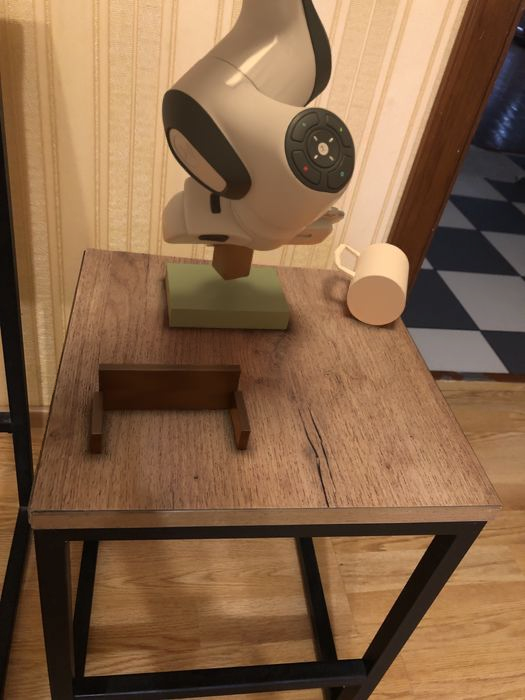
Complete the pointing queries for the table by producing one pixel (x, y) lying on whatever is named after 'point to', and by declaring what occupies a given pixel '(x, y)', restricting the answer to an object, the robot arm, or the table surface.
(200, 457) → the table surface
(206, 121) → the robot arm
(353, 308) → the cup
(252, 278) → the board
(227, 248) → the wooden block
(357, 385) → the table surface
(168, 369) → the frame
